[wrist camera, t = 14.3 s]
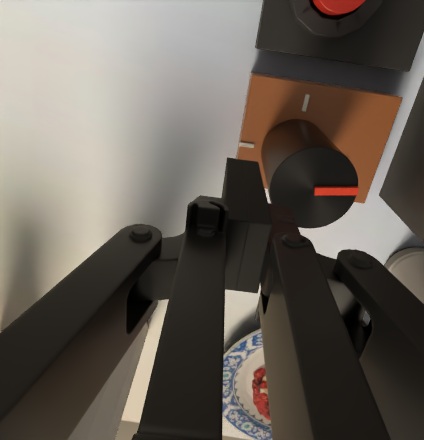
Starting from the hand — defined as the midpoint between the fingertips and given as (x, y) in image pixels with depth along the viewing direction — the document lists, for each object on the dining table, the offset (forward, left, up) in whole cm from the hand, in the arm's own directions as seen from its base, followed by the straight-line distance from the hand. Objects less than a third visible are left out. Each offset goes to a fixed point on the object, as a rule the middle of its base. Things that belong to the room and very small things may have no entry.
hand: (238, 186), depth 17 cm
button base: (-3, +13, -19) cm, 23 cm away
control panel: (+6, +4, -19) cm, 21 cm away
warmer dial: (+5, +3, -16) cm, 17 cm away
